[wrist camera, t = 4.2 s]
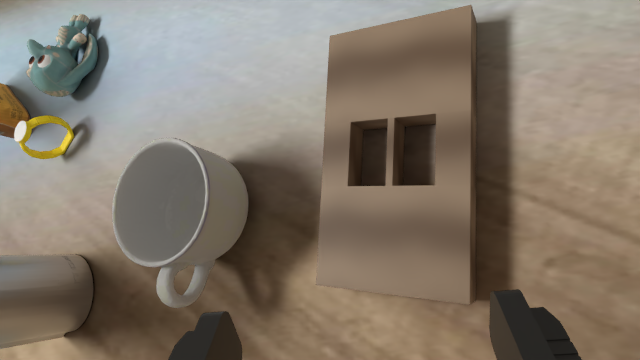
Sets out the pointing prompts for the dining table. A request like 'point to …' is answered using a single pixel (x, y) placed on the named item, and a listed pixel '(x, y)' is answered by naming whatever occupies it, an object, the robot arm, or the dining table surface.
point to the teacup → (178, 212)
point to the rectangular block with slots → (401, 160)
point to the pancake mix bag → (10, 112)
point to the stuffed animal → (62, 59)
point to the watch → (25, 130)
